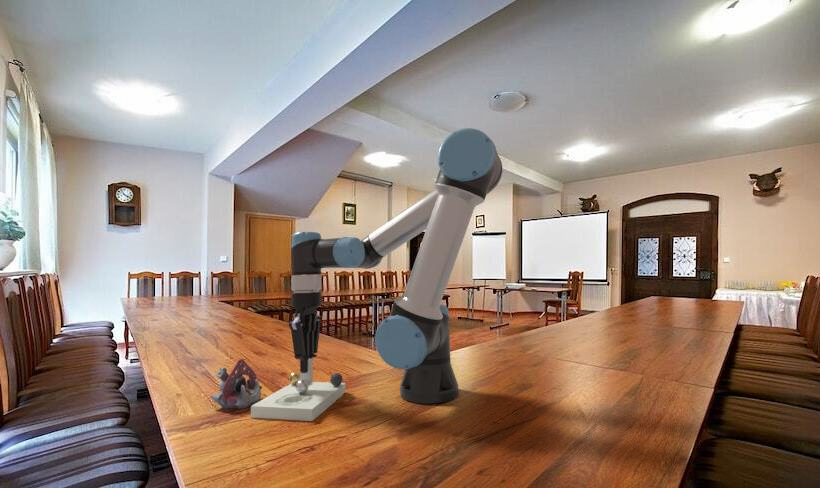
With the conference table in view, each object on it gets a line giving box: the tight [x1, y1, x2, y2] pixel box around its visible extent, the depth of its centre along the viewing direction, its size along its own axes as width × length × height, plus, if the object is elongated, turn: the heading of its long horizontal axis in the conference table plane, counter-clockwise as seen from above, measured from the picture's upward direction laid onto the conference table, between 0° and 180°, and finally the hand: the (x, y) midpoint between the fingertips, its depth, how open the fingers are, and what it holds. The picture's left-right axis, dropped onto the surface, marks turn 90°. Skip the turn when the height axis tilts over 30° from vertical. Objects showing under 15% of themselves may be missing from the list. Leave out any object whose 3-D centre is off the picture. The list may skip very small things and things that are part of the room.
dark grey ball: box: [329, 372, 343, 386], centre depth 94 cm, size 3×3×3 cm
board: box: [250, 381, 347, 422], centre depth 88 cm, size 19×15×2 cm
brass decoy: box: [288, 371, 300, 385], centre depth 97 cm, size 3×3×3 cm
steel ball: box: [296, 380, 309, 393], centre depth 89 cm, size 3×3×3 cm
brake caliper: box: [209, 358, 263, 410], centre depth 91 cm, size 11×11×12 cm
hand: (306, 384), depth 91 cm, fingers closed
